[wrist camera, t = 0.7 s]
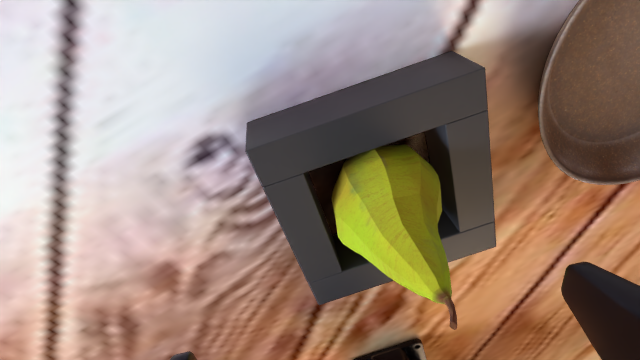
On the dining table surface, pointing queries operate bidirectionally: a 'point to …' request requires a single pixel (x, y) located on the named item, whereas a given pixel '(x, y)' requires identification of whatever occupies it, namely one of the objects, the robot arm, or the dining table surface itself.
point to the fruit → (395, 219)
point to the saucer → (594, 93)
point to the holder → (369, 133)
